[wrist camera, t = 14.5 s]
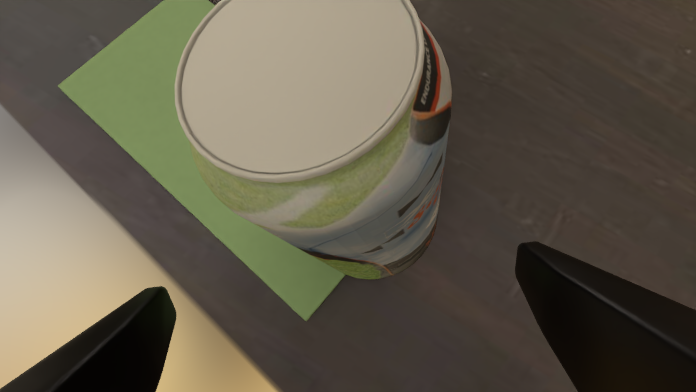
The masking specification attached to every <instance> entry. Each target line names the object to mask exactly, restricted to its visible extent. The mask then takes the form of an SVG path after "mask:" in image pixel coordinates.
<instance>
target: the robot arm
mask: <svg viewBox="0 0 696 392" xmlns="http://www.w3.org/2000/svg"><path fill="white" fill-rule="evenodd" d="M515 274H516V278H517V280H518V282H519V285H520V287H521V289H522V291H523V293H524V295H525V297H526V299H527V302H528V304H529V306H530V308H531V310H532V312H533V314H534V317H535V319H536V321H537V323H538V325H539V327H540V329H541V331H542V333H543V335H544V336H545V338H546V340H547V341H548V343H549V345H550V346H551V348H552V350H553V351H554V353H555V355H556V356H557V358H558V360H559V361H560V363H561V364H562V366H563V368H564V369H565V371H566V373H567V374H568V376H569V378H570V379H571V381H572V383H573V384H574V386H575V387H576V389H577V391H578V392H696V310H694V309H692V308H689V307H687V306H685V305H682V304H680V303H678V302H675V301H673V300H671V299H669V298H666V297H664V296H662V295H659V294H657V293H655V292H652V291H650V290H648V289H645V288H643V287H641V286H638V285H636V284H634V283H632V282H629V281H627V280H625V279H622V278H620V277H618V276H615V275H613V274H611V273H608V272H606V271H604V270H601V269H599V268H597V267H595V266H592V265H590V264H588V263H585V262H583V261H581V260H578V259H576V258H574V257H571V256H569V255H567V254H564V253H562V252H560V251H558V250H555V249H553V248H551V247H548V246H546V245H544V244H541V243H539V242H527V243H521V244H520V245H519V246H518V250H517V258H516V266H515ZM175 321H176V310H175V308H174V305H173V303H172V301H171V299H170V296H169V294H168V292H167V290H166V288H164V287H162V286H161V287H152V288H147V289H145V290H143V291H142V292H140V293H139V294H137V295H136V296H134V297H133V298H132V299H130V300H129V301H127V302H126V303H124V304H123V305H121V306H120V307H119V308H117V309H116V310H114V311H113V312H111V313H110V314H108V315H107V316H105V317H104V318H102V319H101V320H100V321H98V322H97V323H95V324H94V325H92V326H91V327H89V328H88V329H87V330H85V331H84V332H82V333H81V334H79V335H78V336H76V337H75V338H73V339H72V340H71V341H69V342H68V343H66V344H65V345H63V346H62V347H60V348H59V349H57V350H56V351H55V352H53V353H52V354H50V355H49V356H47V357H46V358H44V359H43V360H41V361H40V362H39V363H37V364H36V365H34V366H33V367H31V368H30V369H28V370H27V371H25V372H24V373H23V374H21V375H20V376H19V377H17V378H15V379H14V380H12V381H11V382H10V383H8V384H7V385H5V386H4V387H2V388H1V389H0V392H155V391H156V389H157V386H158V383H159V380H160V377H161V374H162V371H163V367H164V363H165V360H166V356H167V352H168V348H169V344H170V340H171V337H172V333H173V329H174V325H175Z"/></svg>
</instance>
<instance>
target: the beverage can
mask: <svg viewBox="0 0 696 392" xmlns="http://www.w3.org/2000/svg"><path fill="white" fill-rule="evenodd" d="M451 103H452V89H451V82H450V75H449V69H448V66H447V64H446V61H445V58H444V56H443V53H442V50H441V48H440V46H439V45H438V43H437V42H436V40H435V38H434V37H433V35H432V34H431V32H430V31H429V29H428V28H427V27H426V26H425V25H424V24H423V23H422V22H421V21H420V20H419V18H418V15H417V12H416V10H415V8H414V7H413V5H412V4H411V2H410V1H409V0H221V1H220V2H219V3H218V4H216V6H215V7H214V8H213V9H212V10H211V11H210V12H209V13H208V14H207V15H206V16H205V17H204V18H203V20H202V21H201V22H200V24H199V25H198V27H197V28H196V29H195V31H194V32H193V33H192V35H191V37H190V39H189V41H188V43H187V45H186V47H185V49H184V50H183V53H182V56H181V59H180V62H179V65H178V68H177V74H176V80H175V106H176V110H177V114H178V119H179V122H180V124H181V126H182V128H183V130H184V132H185V134H186V137H187V138H188V139H189V143H190V148H191V152H192V156H193V159H194V162H195V164H196V166H197V168H198V170H199V172H200V174H201V177H202V179H203V180H204V182H205V183H206V184H207V186H208V187H209V188H210V190H211V191H212V192H213V193H214V195H215V196H216V197H217V198H218V199H219V200H220V201H221V202H222V203H223V204H225V205H226V206H227V207H228V208H229V209H230V210H232V211H233V212H234V213H235V214H237V215H239V216H241V217H243V218H244V219H246V220H248V221H250V222H252V223H253V224H255V225H257V226H259V227H261V228H262V229H264V230H266V231H268V232H270V233H271V234H273V235H275V236H277V237H279V238H280V239H282V240H284V241H286V242H287V243H289V244H291V245H293V246H295V247H296V248H298V249H300V250H302V251H304V252H305V253H307V254H309V255H311V256H313V257H314V258H316V259H318V260H320V261H322V262H323V263H325V264H327V265H329V266H331V267H332V268H334V269H336V270H338V271H340V272H342V273H343V274H346V275H349V276H352V277H355V278H361V279H380V278H385V277H389V276H392V275H395V274H397V273H399V272H402V271H403V270H405V269H406V268H408V267H409V266H411V265H412V264H414V263H415V262H416V261H417V260H418V259H419V258H420V257H421V256H422V254H423V253H424V252H425V250H426V249H427V248H428V246H429V244H430V242H431V240H432V238H433V235H434V231H435V228H436V223H437V215H438V208H439V200H440V193H441V185H442V178H443V170H444V162H445V155H446V147H447V140H448V132H449V124H450V117H451Z"/></svg>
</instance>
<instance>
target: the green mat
mask: <svg viewBox="0 0 696 392" xmlns="http://www.w3.org/2000/svg"><path fill="white" fill-rule="evenodd" d="M214 7H215V5H214V4H212V3H211V2H210V1H208V0H163V1H162V2H161V3H160V4H159V5H157V6H156V7H155V8H154V9H152V10H151V11H150V12H149V13H147V14H146V15H145V16H144V17H142V18H141V19H140V20H139V21H137V22H136V23H135V24H134V25H132V26H131V27H130V28H129V29H127V30H126V31H125V32H124V33H123V34H121V35H120V36H119V37H118V38H116V39H115V40H114V41H113V42H111V43H110V44H109V45H108V46H106V47H105V48H104V49H103V50H101V51H100V52H99V53H98V54H96V55H95V56H94V57H93V58H92V59H90V60H89V61H88V62H87V63H85V64H84V65H83V66H82V67H80V68H79V69H78V70H77V71H75V72H74V73H73V74H72V75H70V76H69V77H68V78H67V79H65V80H64V81H63V82H62V83H60V84H59V85H58V87H59V88H60V89H61V90H62V91H63V92H64V93H65V94H66V95H67V96H69V97H70V98H71V99H72V100H73V101H74V102H75V103H76V104H77V105H78V106H79V107H80V108H81V109H82V110H83V111H84V112H85V113H86V114H87V115H89V116H90V117H91V118H92V119H93V120H94V121H95V122H96V123H97V124H98V125H99V126H100V127H101V128H102V129H103V130H104V131H105V132H106V133H108V134H109V135H110V136H111V137H112V138H113V139H114V140H115V141H116V142H117V143H118V144H119V145H120V146H121V147H122V148H123V149H124V150H125V151H127V152H128V153H129V154H130V155H131V156H132V157H133V158H134V159H135V160H136V161H137V162H138V163H139V164H140V165H141V166H142V167H143V168H144V169H146V170H147V171H148V172H149V173H150V174H151V175H152V176H153V177H154V178H155V179H156V180H157V181H158V182H159V183H160V184H161V185H162V186H163V187H165V188H166V189H167V190H168V191H169V192H170V193H171V194H172V195H173V196H174V197H175V198H176V199H177V200H178V201H179V202H180V203H181V204H182V205H183V206H185V207H186V208H187V209H188V210H189V211H190V212H191V213H192V214H193V215H194V216H195V217H196V218H197V219H198V220H199V221H200V222H201V223H202V224H204V225H205V226H206V227H207V228H208V229H209V230H210V231H211V232H212V233H213V234H214V235H215V236H216V237H217V238H218V239H219V240H220V241H221V242H223V243H224V244H225V245H226V246H227V247H228V248H229V249H230V250H231V251H232V252H233V253H234V254H235V255H236V256H237V257H238V258H239V259H240V260H242V261H243V262H244V263H245V264H246V265H247V266H248V267H249V268H250V269H251V270H252V271H253V272H254V273H255V274H256V275H257V276H258V277H259V278H261V279H262V280H263V281H264V282H265V283H266V284H267V285H268V286H269V287H270V288H271V289H272V290H273V291H274V292H275V293H276V294H277V295H278V296H279V297H281V298H282V299H283V300H284V301H285V302H286V303H287V304H288V305H289V306H290V307H291V308H292V309H293V310H294V311H295V312H296V313H297V314H298V315H300V316H301V317H302V318H303V319H304V320H305V321H307V320H308V319H309V318H310V317H311V316H312V315H313V313H314V312H315V311H316V310H317V309H318V307H319V306H320V305H321V304H322V303H323V301H324V300H325V299H326V298H327V297H328V296H329V294H330V293H331V292H332V291H333V290H334V288H335V287H336V286H337V285H338V284H339V282H340V281H341V280H342V279H343V278H344V277H345V275H346V274H343V273H342V272H340V271H338V270H336V269H334V268H332V267H331V266H329V265H327V264H325V263H323V262H322V261H320V260H318V259H316V258H314V257H313V256H311V255H309V254H307V253H305V252H304V251H302V250H300V249H298V248H296V247H295V246H293V245H291V244H289V243H287V242H286V241H284V240H282V239H280V238H279V237H277V236H275V235H273V234H271V233H270V232H268V231H266V230H264V229H262V228H261V227H259V226H257V225H255V224H253V223H252V222H250V221H248V220H246V219H244V218H243V217H241V216H239V215H237V214H235V213H234V212H233V211H232V210H230V209H229V208H228V207H227V206H226V205H225V204H223V203H222V202H221V201H220V200H219V199H218V198H217V197H216V196H215V195H214V193H213V192H212V191H211V190H210V188H209V187H208V186H207V184H206V183H205V182H204V180H203V179H202V177H201V174H200V172H199V170H198V168H197V166H196V164H195V162H194V159H193V156H192V152H191V148H190V143H189V139H188V138H187V137H186V134H185V132H184V130H183V128H182V126H181V124H180V122H179V119H178V114H177V110H176V106H175V80H176V74H177V68H178V65H179V62H180V59H181V56H182V53H183V50H184V49H185V47H186V45H187V43H188V41H189V39H190V37H191V35H192V33H193V32H194V31H195V29H196V28H197V27H198V25H199V24H200V22H201V21H202V20H203V18H204V17H205V16H206V15H207V14H208V13H209V12H210V11H211V10H212V9H213V8H214Z"/></svg>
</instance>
